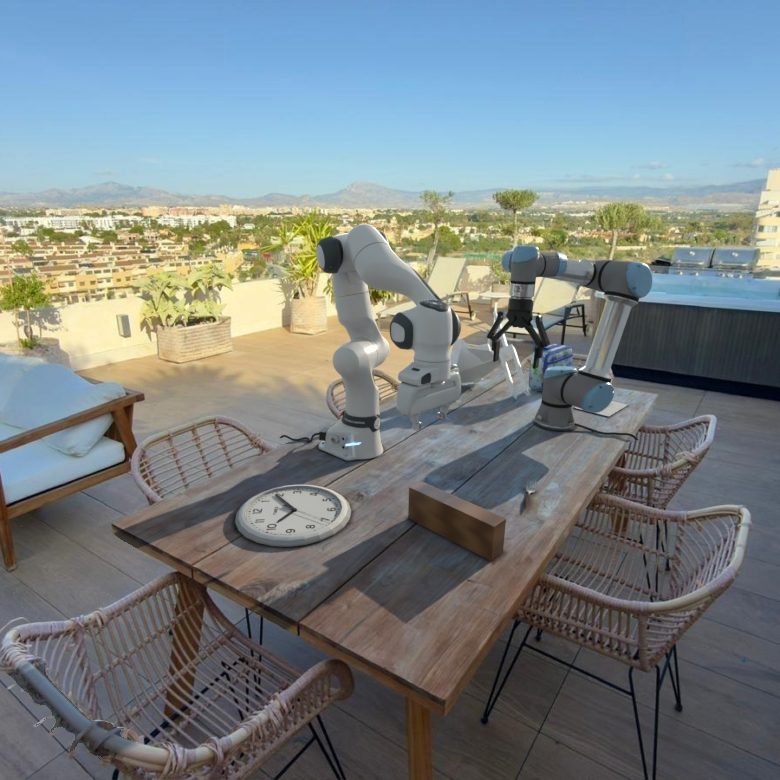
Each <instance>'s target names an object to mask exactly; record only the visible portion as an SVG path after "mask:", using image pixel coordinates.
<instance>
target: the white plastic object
mask: <svg viewBox="0 0 780 780" xmlns="http://www.w3.org/2000/svg"><path fill="white" fill-rule="evenodd" d="M492 315H493V319H494V322H495V321H496V319H497V316H498V312H497V311H496V310H495V311H492ZM502 327H503V325H502V323H501V324H500V326H499V327H498V329H497V332H498V331H499V330H500V329H501V328H502ZM499 339H500V342H501V345H502V347H500V351H499V360H498V361H496V362H494V361H493V355H494V351H492V346H490V344H489V343H488V342H487V343H483V344H479V345H473V346H469V345H468V343H466V342H465V340H464V339H463V338H460V339H459V338H458V339H457V340H456V341H455V343H454V344H453V345H452V349H451V351H450V354H451V364H455V365H456V366H457V367H458V368H459V374H460V379H461V384H467V383H468V384H469V383H473V384H477V383H480V382H482V381H484V378H485V377H486V376H487V375H489V374H490V373H492V372H494V371H495V370H496V369H497V368H499V367H500V366H502V370H503V373H504V376H505V380H506V383H507V386H508V390H509V393H510V394H511V395H512V397H513V398H514V399H515V400H517V392H516V391H517V390H516V388H515V385H514V381H513V378H512V375H511V371H510V369H509V365H508V361H510V360H513V363H514V366H515V369H516V372H517V376H518V380H519V382H520V385H521V389H522V391H523V393H524V395H525V396H526V397H528V396H531V395H530V390H529V388H528V387H529V386H528V384H527V381H526V378H525V375H524V371H523V369H522V368H523V367H522V366H521V362H520V359H519V355H518V352H517V349H516V347H515V346H514V345H513V343H511V344H508V341H507V337H506V334H505V333H504V334H503V335H502V336H501V337H500V338H499Z"/></svg>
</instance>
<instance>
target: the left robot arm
mask: <svg viewBox="0 0 780 780" xmlns="http://www.w3.org/2000/svg"><path fill="white" fill-rule="evenodd" d="M315 248H316V249H315V251H316V252H315V255H316V261H317V264H318V267H319V268H320V269H321V271H323V272H324V273H325V274H330V275H331V280H332V281H331V283H332V292H333V297H334V299H333V300H334V303H335V308H336V309H335V310H336V314H337V318H338V322H339V324H340V325H341V326H342V327H344V329H345V330H346V332H347V334H348V336H349V339H350V341H347V342H345V343H343V344H342V345H341V346H339V347H338V348H337V349H336V350H335V351H334V353H333V355H332V365H333V368H334V370H335V372H336V373H338V375H340V377H341V379H342V382H343V386H344V393H345V394H344V395H345V409H344V410H343V411H342V412H339V413H338V418H340V417H341V419H340V420H339V421H338V422H336V423H334V424H333V425H332V426H330V427H326V426H325V427H323V428H322V429H320V430H319V432H315V433H313V434H312V435H311V437H308V436H303V437H300V438H292V437H290V436H289V435H287V434H281V436H279V439H282V438H286V439H288V440H290V441H293V442H299V441H302V440H303V441H304V440H307V441H308V442H309V443H312V442H313V440H314V438H315V437H316V436H318V439H319V441H320V443H319V444H318V450H321V451H323V452H326V453H328V454H330V455H332V456H335V457H337V458H340V459H342V460H344V461H347V462H351V461H355V460H371V459H373V458H377V457H379V456H381V455H382V454H383V453H384V448H383V443H382V438H381V430H380V429H381V410H380V388H379V387H378V386H377V384H375V380H374V376H373V371H374V369H375V368H377V367H379V366H381V365H382V364H383V363H384V362H385V361H386V360H387V359H388V357H389V355H390V352H391V348H390V344H389V341H388V340H387V338H385V337H384V336H383V335H382V333H381V331H380V329H379V327H378V324H377V321H376V319H375V317H374V311H373V307H372V302H371V295H370V292H369V291H370V290H369V288H371V289H374V290H378V291H384V292H390V293H395V294H398V295H402V296H404V297H406V298H408V299H410V300H411V301H412V302H413V303H414V304H415V306H414V307H412V308H409V309H405V310H403V311H399V312H398V311H397V312H396V314H394V316H393V317H392V319H391V321H390V324H389V337H390V340H391V342H392V343H393V344H394V345H395V346H396V347H397V348H399V350H406V351H409V350H411V351H413V352H414V354H413V361H411V362H410V363H409V364H408V365H407V366H406V367H404V368H403V369H401V370H400V371H399V372H398V374H397V379H398V381H399V382H400V383H399V385H398V387H397V393H396V410H397V412H398V413H399V414H400V415H402V416H405V417H408V418H409V419H410V421H411V423H412V424H411V427H412V430H414V431H419V430H421V429H422V428H423V426H422V425H423V422H422V421H420V420H419V418H420V414H422V413H424V412H427V411H431V410H433V409H436V408H439V407H440V409H439V412H437V414H436V415H437V420H438V421H441V422H442V421H446V420H447V417H448V416H447V415H448V411H449V410H450V408H451V403H452V402H456V401H458V400H459V399H460V398H461V396H462V383H461V379H460V374H459V368H458V367H457V366H456V365H455V364H451V347H453V344H454V343H455V341H456V340H457V339H459V337H460V335H461V331H462V322H461V320H460V318H459V316H458V314H457V312H456V311H455V310H454V309H453V308H452V307H451V306H450V305H449V304H448V303H447V302H445V301H443V300H442V299H441V298H440V297H439V295H438V294H437V293H436V292H435V291H434V290H433V288H432V287H431V286H430V285H429V284H428V282H427V281H426V280H425V278H424V277H423V276H422V275H421V274H420V273H419V272H418V271H417V270H416V269H414V268H413V267H411V266H410V265H408V264H407V263H405V262H404V261H403V260H402V259H401V258H400V257H399V256H398V255H397V254H396V253H395V252H394V251H393V249H392V248H391V246H390V242H389V239H388V237H387V235H386V234H385V232H383V231H381V230H379V229H376V227H374V226H373V225H371V224H369V223H368V224H367V223H360V224H358V225H355V226H354V227H353V228H351V229H350V231H349V232H346V233H341V234H337V235H334V236H332V235H329V236H326V237H323V238H321V239H320V240H318V242H317V244H316V247H315Z"/></svg>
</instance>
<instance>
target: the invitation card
mask: <svg viewBox="0 0 780 780" xmlns="http://www.w3.org/2000/svg"><path fill="white" fill-rule="evenodd" d="M628 406H629V404H627V403H623V402H618V401H614V400H612V401H611V403H610V404H609V405H608V407H607V408H605V409H604V410H603V411H601V412H598V413H595V414H596V415H600V416H604V417H608V418H609V417H611V416H613V415H614V414H616V413H617V412H619V411H621V410H623V409H624V408H626V407H628ZM573 409H575V410H581V411H584V410H583V409H581V408H578V407H575V406H573ZM587 413H590V412H589V411H587ZM591 413H593V412H591ZM593 414H594V413H593Z"/></svg>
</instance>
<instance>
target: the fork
mask: <svg viewBox="0 0 780 780" xmlns="http://www.w3.org/2000/svg"><path fill="white" fill-rule="evenodd" d="M536 483H537V480H536V479H535V480H534V482H532V479H530V481H529V478H527V482H526V487H525V492H526V493H528V495H527V496H526V497H525V510H526V511H527V509H528V507H529V504H530V502H531V494H532V493H535V491H536Z"/></svg>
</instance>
